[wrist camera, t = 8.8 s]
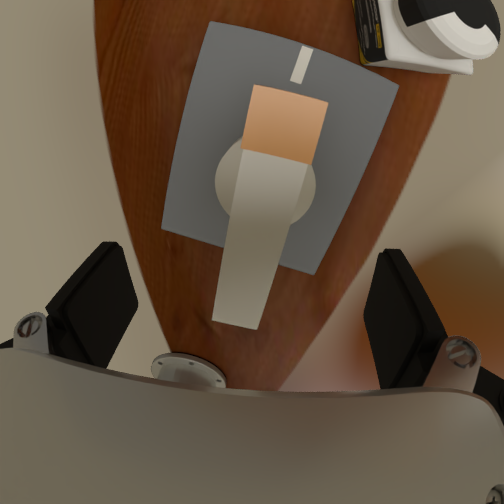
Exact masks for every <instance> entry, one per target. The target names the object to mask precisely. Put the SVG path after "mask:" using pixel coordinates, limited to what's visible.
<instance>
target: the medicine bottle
mask: <svg viewBox="0 0 504 504" xmlns="http://www.w3.org/2000/svg"><path fill="white" fill-rule="evenodd" d="M352 3H353V8H354V15H355V21H356V28H357V36H358V44H359V53H360V62H361V64H362V65H365V66H378V67H389V68H398V69H406V70H414V71H420V72H426V73H443V74H462V75H472V74H473V61H472V59H484V58H487V57H489V56H491V55H492V54H493V53H494V52H495V51H496V49H497V47H498V44H499V40H500V23H499V18H498V15H497V12H496V10H495V8H494V6H493V4H492V2H491V0H352Z"/></svg>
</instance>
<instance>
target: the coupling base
mask: <svg viewBox="0 0 504 504" xmlns="http://www.w3.org/2000/svg"><path fill="white" fill-rule="evenodd" d="M254 84H256V85H263V86H268V87H273V88H277V89H281V90H286V91H290V92H294V93H298V94H302V95H306V96H309V97H313V98H317V99H320V100H323V101H325V102H328V107H327V110H326V114H325V118H324V121H323V125H322V129H321V132H320V136H319V139H318V143H317V146H316V150H315V153H314V157H313V160H312V164H311V165H312V168H313V171H314V174H315V179H316V189H315V195H314V198H313V201H312V203H311V205H310V207H309V209H308V210H307V211H306V213H305V214H304V215H303V216H302V217H301V218H300V219H299V220H297V221H296V222H294V223H293V224H291V225H290V227H289V231H288V234H287V237H286V240H285V244H284V247H283V250H282V253H281V257H280V260H279V263H278V264H279V265H282V266H285V267H288V268H292V269H295V270H298V271H302V272H305V273H308V274H312V275H314V274H315V272H316V270H317V268H318V266H319V264H320V262H321V260H322V259H323V257H324V255H325V253H326V251H327V249H328V247H329V245H330V243H331V241H332V239H333V237H334V235H335V233H336V231H337V229H338V227H339V225H340V223H341V220H342V218H343V216H344V214H345V212H346V210H347V208H348V206H349V204H350V202H351V199H352V197H353V195H354V193H355V191H356V189H357V186H358V184H359V182H360V180H361V178H362V175H363V173H364V171H365V169H366V166H367V164H368V162H369V160H370V157H371V155H372V153H373V150H374V148H375V146H376V143H377V141H378V138H379V136H380V134H381V131H382V129H383V126H384V124H385V121H386V119H387V116H388V114H389V111H390V109H391V106H392V104H393V101H394V98H395V96H396V93H397V90H398V88H399V85H397V84H395V83H393V82H391V81H390V80H388V79H386V78H384V77H382V76H380V75H378V74H376V73H374V72H372V71H369V70H367V69H365V68H363V67H361V66H359V65H356V64H354V63H352V62H349V61H347V60H345V59H342V58H340V57H337V56H335V55H332V54H330V53H327V52H325V51H322V50H319V49H316V48H314V47H311V46H308V45H305V44H302V43H299V42H296V41H292V40H289V39H286V38H283V37H279V36H276V35H272V34H268V33H264V32H260V31H256V30H252V29H248V28H243V27H239V26H234V25H229V24H223V23H218V22H212V21H210V23H209V26H208V29H207V32H206V35H205V38H204V41H203V44H202V47H201V51H200V54H199V57H198V60H197V64H196V67H195V71H194V74H193V78H192V81H191V85H190V89H189V93H188V96H187V100H186V104H185V108H184V112H183V116H182V121H181V125H180V129H179V134H178V138H177V143H176V147H175V152H174V157H173V162H172V167H171V172H170V178H169V183H168V189H167V194H166V200H165V206H164V213H163V219H162V226H161V229H164V230H167V231H170V232H174V233H177V234H180V235H183V236H187V237H190V238H193V239H196V240H200V241H203V242H206V243H209V244H213V245H216V246H219V247H223V248H224V246H225V241H226V235H227V230H228V224H229V219H230V216H229V215H228V214H227V212H226V211H225V210H224V209H223V207H222V206H221V204H220V202H219V200H218V197H217V194H216V189H215V175H216V171H217V167H218V165H219V163H220V161H221V159H222V157H223V156H224V155H225V154H226V152H227V151H228V150H229V149H230V147H231V146H232V145H233V144H234V142H236V141H237V140H238V139H239V138H240V137H242V136H243V133H244V128H245V123H246V118H247V114H248V109H249V104H250V100H251V95H252V91H253V86H254Z"/></svg>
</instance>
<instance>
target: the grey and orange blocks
mask: <svg viewBox="0 0 504 504" xmlns="http://www.w3.org/2000/svg"><path fill="white" fill-rule="evenodd" d="M327 107H328V102H325V101H323V100H320V99H317V98H313V97H309V96H306V95H302V94H298V93H294V92H290V91H286V90H281V89H277V88H273V87H268V86H263V85H256V84H254V86H253V91H252V95H251V100H250V104H249V109H248V114H247V118H246V123H245V128H244V133H243V136H242V137H240V138H239V139H238V140H237V141H236V142H234V144H233V145H232V146H231V147H230V149H229V150H228V151H227V152H226V154H225V155H224V156H223V157H222V159H221V161H220V163H219V165H218V167H217V171H216V175H215V189H216V194H217V197H218V200H219V202H220V204H221V206H222V207H223V209H224V210H225V211H226V212H227V214H228V215H229V216H230V219H229V224H228V230H227V235H226V241H225V246H224V252H223V257H222V263H221V269H220V274H219V280H218V286H217V292H216V298H215V304H214V310H213V316H212V320H214V321H218V322H222V323H227V324H231V325H236V326H240V327H245V328H250V329H255V330H257V328H258V325H259V322H260V319H261V316H262V313H263V310H264V307H265V304H266V301H267V298H268V294H269V291H270V288H271V285H272V282H273V279H274V276H275V273H276V269H277V266H278V263H279V260H280V257H281V253H282V250H283V247H284V244H285V240H286V237H287V234H288V231H289V227H290V225H291V224H293V223H294V222H296V221H297V220H299V219H300V218H301V217H302V216H303V215H304V214H305V213H306V211H307V210H308V209H309V207H310V205H311V203H312V201H313V198H314V195H315V189H316V179H315V174H314V171H313V168H312V165H311V164H312V160H313V157H314V153H315V150H316V146H317V143H318V139H319V136H320V132H321V129H322V125H323V121H324V118H325V114H326V110H327Z"/></svg>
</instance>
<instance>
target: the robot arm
mask: <svg viewBox="0 0 504 504" xmlns="http://www.w3.org/2000/svg"><path fill="white" fill-rule="evenodd" d="M45 308H46V310H47V312H48V314H49V315H48V316H47V318H46V317H45V315H44V314H43V313H40V312H34V313H30V314H28V315H26V316H25V317H23V318H22V319H21V320H20V321H19V322H18V323H17V325H16V327H15V329H14V338H12V339H10V340H8V341H6V342H4V343H2V344H0V504H504V380H503V379H501V378H500V377H498V376H496V375H495V374H493V373H491V372H490V371H488V370H486V369H485V368H483V367H481V366H480V364H481V355H480V351H479V350H478V348H477V346H476V345H475V344H474V343H473V342H472V341H470V340H469V339H467V338H465V337H462V336H450V337H448V336H447V334H446V332H445V329H444V326H443V324H442V322H441V320H440V318H439V316H438V314H437V312H436V310H435V308H434V307H433V305H432V303H431V301H430V299H429V297H428V295H427V293H426V292H425V290H424V288H423V286H422V284H421V283H420V281H419V279H418V277H417V276H416V274H415V272H414V271H413V269H412V267H411V265H410V264H409V262H408V261H407V259H406V257H405V256H404V254H403V253H402V251H401V250H400V249H385V250H384V251H383V253H379V255H378V258H377V263H376V267H375V271H374V275H373V279H372V283H371V287H370V291H369V294H368V298H367V302H366V306H365V309H364V322H365V326H366V330H367V333H368V337H369V341H370V345H371V349H372V353H373V357H374V362H375V366H376V370H377V374H378V379H379V384H380V388H381V389H380V390H364V391H341V392H340V391H339V392H338V391H337V392H280V391H258V390H243V389H230V388H226V378H225V376H224V375H223V373H222V372H221V371H220V370H219V369H218V368H217V367H215V366H214V365H213V364H211V363H209V362H207V361H205V360H203V359H201V358H198V357H195V356H192V355H188V354H182V353H167V354H162V355H160V356H158V357H156V358H155V359H154V361H153V363H152V366H151V372H152V374H153V376H154V378H155V379H154V378H148V377H143V376H137V375H132V374H127V373H123V372H118V371H114V370H109V369H106V368H107V366H108V364H109V362H110V360H111V358H112V356H113V354H114V352H115V350H116V348H117V346H118V344H119V342H120V340H121V339H122V337H123V335H124V333H125V331H126V329H127V327H128V325H129V324H130V322H131V320H132V318H133V316H134V314H135V313H136V311H137V308H138V300H137V296H136V293H135V290H134V286H133V283H132V280H131V277H130V273H129V270H128V266H127V262H126V259H125V255H124V252H123V248H122V247H121V246H119V244H118V243H117V242H102V243H101V244H100V245H99V246H98V247H97V248H96V249H95V250H94V251H93V252H92V253H91V255H90V256H89V257H88V258H87V259H86V260H85V261H84V262H83V263H82V265H81V266H80V267H79V268H78V269H77V270H76V271H75V272H74V273H73V275H72V276H71V277H70V278H69V279H68V280H67V282H66V283H65V284H64V285H63V286H62V288H61V289H60V290H59V291H58V292H57V293H56V295H55V296H54V297H53V298H52V300H51V301H50V302H49V303H48V305H47V306H46V307H45Z"/></svg>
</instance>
